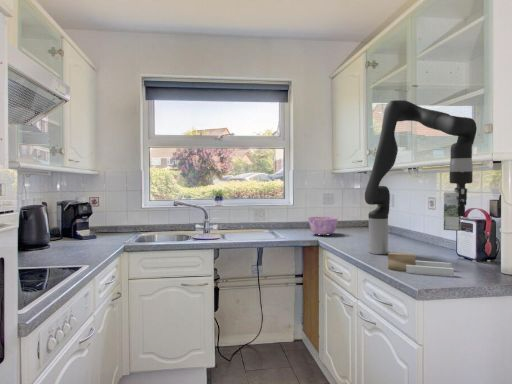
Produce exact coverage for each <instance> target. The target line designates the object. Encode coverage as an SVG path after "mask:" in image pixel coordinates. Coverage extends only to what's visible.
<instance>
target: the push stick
mask: <svg viewBox="0 0 512 384" xmlns="http://www.w3.org/2000/svg"><path fill="white" fill-rule="evenodd" d="M387 257H388V258H387V265H388V266H387V267H388V268H387V269H388V270H393V269H396V270H406V265H416V261H417V259H416V254H415V253H398V252H388V253H387Z"/></svg>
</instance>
